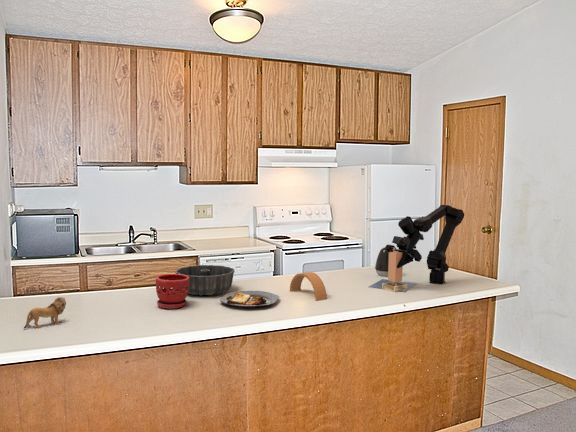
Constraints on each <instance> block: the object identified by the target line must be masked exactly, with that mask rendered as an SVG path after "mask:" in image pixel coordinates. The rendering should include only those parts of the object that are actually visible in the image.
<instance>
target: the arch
mask: <svg viewBox="0 0 576 432" xmlns="http://www.w3.org/2000/svg"><path fill="white" fill-rule="evenodd" d="M304 279H307V280H308V282H309V283H310V284H311V286H312V289H313V292H314V298H315V301H316V302H319V301H325V300H328V296H327V290H326V286H325V284H324V282H323V280H322V278H321V277H320V276H319V275H318V274H317V273H315V272H313V271H308V272H307V271H306V272H299V273H296V274H295V275H294V276H293V277H292V279H291V281H290V284H289V292H297V291H301V289H302V288H301V287H302V284H303V280H304Z"/></svg>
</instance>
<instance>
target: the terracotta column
mask: <svg viewBox="0 0 576 432" xmlns="http://www.w3.org/2000/svg"><path fill="white" fill-rule="evenodd" d="M402 256H403V253H401V252H399V251H393V252H389V264H388V277H387V280H389V281H393V282H399V281H401V282H403V271H404V270H403V269H404V268H403V267H404V266H402V267H400V268H397V265H398V263H399V262H400V260H401V258H402Z"/></svg>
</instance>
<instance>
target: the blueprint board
mask: <svg viewBox="0 0 576 432" xmlns="http://www.w3.org/2000/svg"><path fill="white" fill-rule="evenodd" d="M388 282H393V281H389V280H388V279H384V278H381V279H379V280H378V281H375V282H374V283H372V284H371V285H369V286H368V289H369V288H371V289H379V290H384V291H386V290H385V289H382V283H388ZM399 283H403V284H406V285H408V287H407V290H404V291H399V293H407V292H408V291H410V290H411V289H413V288H414V287H415V286H417V285H418V283H417V282H415V283H414V282H407V281H399Z"/></svg>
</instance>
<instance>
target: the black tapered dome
mask: <svg viewBox="0 0 576 432" xmlns="http://www.w3.org/2000/svg"><path fill="white" fill-rule="evenodd" d="M385 247H386V246H384V247H382V248H381V249H380V250H379V252H378V255H377V257H376V261H375V267H374V269H375V273H376V274H377V275H378V276H380V277H387V278H388V264H389V253H388V252H387V251H386V249H385Z"/></svg>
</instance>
